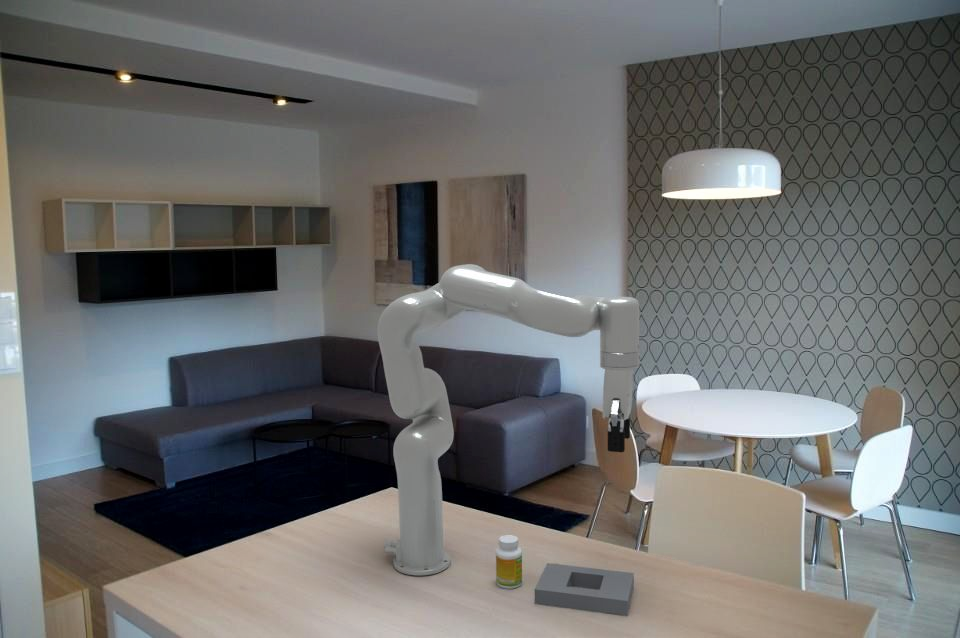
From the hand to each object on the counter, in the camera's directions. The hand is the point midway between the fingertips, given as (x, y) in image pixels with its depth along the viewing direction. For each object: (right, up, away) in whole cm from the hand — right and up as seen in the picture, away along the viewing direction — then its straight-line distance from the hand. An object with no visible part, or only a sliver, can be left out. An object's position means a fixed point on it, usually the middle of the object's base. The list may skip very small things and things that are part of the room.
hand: (619, 444), depth 148 cm
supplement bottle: (-22, -30, +7) cm, 38 cm away
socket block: (-7, -30, +1) cm, 31 cm away
